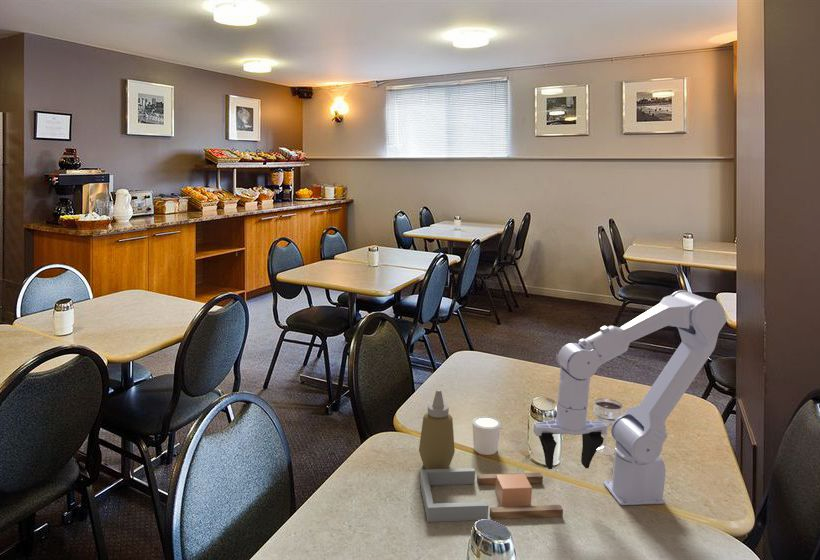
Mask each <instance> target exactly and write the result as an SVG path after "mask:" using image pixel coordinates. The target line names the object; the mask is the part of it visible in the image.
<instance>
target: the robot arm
mask: <svg viewBox="0 0 820 560" xmlns="http://www.w3.org/2000/svg"><path fill="white" fill-rule="evenodd" d="M726 323H727V317H726V314H725V311H724V307H723V306H722V305H721V303H720V302H719V301H717V300H715V299H711V298H706V297H704V296H702V295H701V296H700V295H697V294H695V293H692V292H690V291H688V290H685V289H681V290H676V291H674V292H673V293H672V294H670V295H666V296H664V297H662V299H660V302H659V303H657V304H656V305H654V306H652V307H651V308H650V309H648V310H645V312H643V313H641V314H639V315H638V316H636V317H635V318H633V319H632V320H630V321H628V322H626V323H624V324H623V325H621V326H620V327H619V326H615V325H607V326H606V325H603V326H601V327H599V331H597V332H595V333H594V334H591V335H589V336H588V337H586V338H580V339H579V340H578V343H577V342H570V343H567V344H565V345H563V346H562V347H561V349H560V350H559V351H558V354H556V355H555V360H556V362H557V364H558V365H559V367H560V371H559V372H560V373H559V380H558V381H559V382H558V392H557V393H558V394H557V406H556V409H557V410H556V416H555V417H556V418H555V419H550V420H545V421H541V422H534V423H533V433H534V434H535V436H537V437H538V439H539V441H540V444H541V446H542V450H543V456H544V463H545V466H546V467H547V470H553V467H554V466H553V465H554V456H555V450H556V447H557V444H558V443H557V441H556V440H555V439H554V438H555V436H554V435H570V436H581V437H582V439H581V440H582V449H581V457H580V458H581V461H580V462H581V465H582V466H583V467H584V469H589V468H590V466H591V463H592V460H593V458H594V456H595V454H596V453H597V452H596V451H597V450H598V448H599V447H600V446H601V445H604V435H606V434H607V435H608V431H607V425H606V424H605V423H604V422H599V421H598V420H597V421H596V420H587V418H588V417H587V414H588V405H589V396H590V395H589V393H590V381H591V378H592V377H593V376H594V375H595V373H596V372H597V370H598V369H599V367H601V366H602V365H603V364H604V363H607V362H608V361H611V360H612V359H614V358H616V357H618V356H620V355H623V353H626V352H627V351H628V349H629V347H630V344H631V342H632V343H633V342H634V341H636V340H638V339H641V338H643V337H645V336H647V335H650V334H652V333H654V332H656V331H658V330H661V329H663V328H665V327H673V328H674V327H676V329H678V333H679V336H680V339H681V342H680V344H679V345H678V347H677V348H676V350H675V352H673V354H672V356H671V357H670V359H669V360H668V361H667V363H666V365H665V366H664V368H663V369H662V370H661V372H660V373H659V375H658V376H657V378H656V379H655V381H654V382H653V384H652V385H651V387H650V388H649V390H648V391H647V393H646V394H645V396H644V397H643V399H641V402H640V403H639V404H638V405H634V406H631V407H628V408H627V409H626V411H625V412H623V415H622V416H620V417H618V418H617V419H616V420H615V421H614V422H613V424H612V425H610V426H611V427H610V433H611V436H612V438H613V439H614V440H615V445H614V447H615V449H614V450H615V453H614V460H613V469H612V476H611V480H604V481H603V485H604V486H605V487H606V489H607V490H608V491H609V493H610V494H611V495H612V496H613V497H614V500H616V502H617V503H618V505H621V506H632V505H663V504H665V500H664V498H663V497H664V491H665V484H666V483H665V482H666V465H665V462H664V460H663V458H662V457H661V454H662V450H663V445H664V442H665V441H666V439H667V438H668V433H667V428H666V420H667V419H668V417H669V416H670V414H671V413H672V412H673V411H674V409H675V408H676V406H677V405H678V403H679V401H680V400H681V399H682V398H683V396H684V394H685V393H686V392H687V390H688V388H689V386H690V385H691V384H692V382H693V381H694V380H695V378H696V376H697V375H698V374H699V372H701V370H702V369H703V367H704V365H705V364H706V362H707V361H708V359H709V357H710V356H711V355H712V353H713V352H714V351H715V349H716V345H717V342H718V337H719V333H720V332H721V330H722V328H723V327H724V326H725V324H726Z"/></svg>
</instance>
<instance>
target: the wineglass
mask: <svg viewBox="0 0 820 560" xmlns="http://www.w3.org/2000/svg"><path fill="white" fill-rule="evenodd" d="M593 403H594V406H592V407H593V408H592V411H593V412H592V413H593V417H594V418H595V419H596V420H597V422H604V423H605V424H606V425H607V432H608V430H609V427H610V426H612V424H613V422H614V421H615V420H616V419H617V418H618V417H620V416H622V415H623V414H624V412H623V409H624V404H623V403H622V402H620V401H618V400H617V399H616V400H615V399H612V398H607V397H601V398H600V397H599V398H595V399H594V401H593ZM607 438H608V433H607V434H606V435H603V439H604V440H603V444H602V445H601V446H600V447H599V448H598V450H597V451H596V453H597V454H600V455H604V456H613V455H615V449H614V448H612V447H611V446H608V445H607Z"/></svg>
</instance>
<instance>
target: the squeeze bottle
mask: <svg viewBox="0 0 820 560" xmlns="http://www.w3.org/2000/svg"><path fill="white" fill-rule="evenodd" d="M444 402H445V401H444V397H443V392H442V390H440V389H436V391H435V394H434V398H433V402H430V403H429V404H428V406H427V412H426V413H425V414H423V417H422V424H421V431H420V439H419V447H418V452H419V456H420V459H421V462H422V465H423V467H424V468H425V469H450V465H451V463H452V460H453V458H454V455H455V437H454V422H453V416H452V415H451V414H450V413H449V409H450V406H449V405H447V404H446V403H444Z"/></svg>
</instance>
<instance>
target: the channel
mask: <svg viewBox="0 0 820 560" xmlns="http://www.w3.org/2000/svg"><path fill="white" fill-rule="evenodd" d="M503 474H504V473H488V474H487V473H484V474H481V473H480V474H477V475H476V476H477V477H476V482H477V484H478V486H480V485H481V486H485V485H496V475H503ZM510 474H525V476H526V478H527V479H528V481H529V483H530V484H543V481H544V480H543V479H544V476H543V474H542V472H521V473H520V472H517V473H516V472H515V473H510ZM489 515H490V519H491V520H502V519H503V520H504V519H505V520H506V519H531V518H532V519H533V518H556V517H557V518H558V517H563V515H564V509H563V507H562V506H561V504H548V505H547V504H545V505H543V504H542V505H541V504H540V505H518V506H493V507H492V506H491V507H489Z"/></svg>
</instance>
